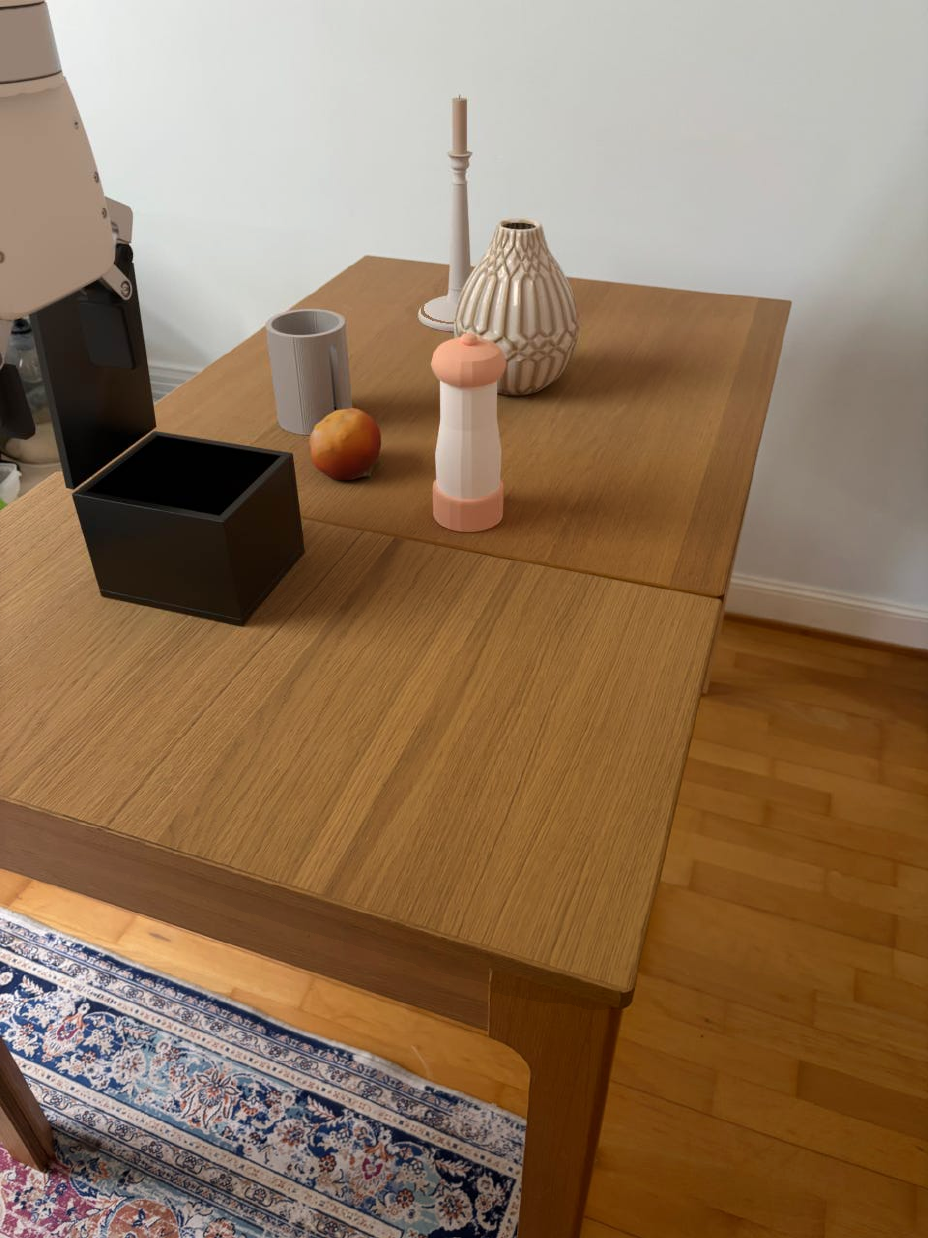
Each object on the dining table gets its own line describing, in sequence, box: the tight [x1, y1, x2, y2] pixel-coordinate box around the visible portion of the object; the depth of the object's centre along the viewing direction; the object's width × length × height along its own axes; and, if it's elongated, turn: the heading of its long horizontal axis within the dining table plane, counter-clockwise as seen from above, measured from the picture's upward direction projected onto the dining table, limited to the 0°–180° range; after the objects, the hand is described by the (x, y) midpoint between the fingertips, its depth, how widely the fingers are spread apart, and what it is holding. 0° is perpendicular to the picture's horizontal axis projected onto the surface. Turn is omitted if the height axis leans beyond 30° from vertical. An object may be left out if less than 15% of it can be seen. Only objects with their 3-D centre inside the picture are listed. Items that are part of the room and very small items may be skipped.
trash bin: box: [71, 430, 306, 627], centre depth 86 cm, size 15×13×11 cm
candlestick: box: [417, 94, 474, 333], centre depth 135 cm, size 13×13×30 cm
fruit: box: [308, 407, 382, 481], centre depth 104 cm, size 8×8×8 cm
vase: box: [453, 217, 580, 396], centre depth 119 cm, size 16×16×20 cm
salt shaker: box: [430, 333, 506, 533], centre depth 92 cm, size 7×7×19 cm
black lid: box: [21, 262, 158, 491], centre depth 80 cm, size 15×13×5 cm
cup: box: [264, 308, 353, 436], centre depth 113 cm, size 9×9×12 cm
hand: (66, 397), depth 54 cm, fingers open, 9 cm apart
